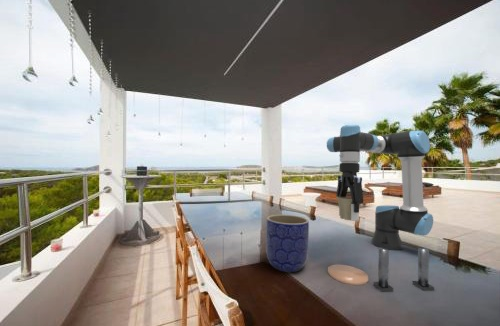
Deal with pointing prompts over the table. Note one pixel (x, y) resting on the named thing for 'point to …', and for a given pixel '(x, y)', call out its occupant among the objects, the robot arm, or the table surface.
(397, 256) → the table surface
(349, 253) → the table surface
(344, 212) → the flower pot
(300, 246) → the planter
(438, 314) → the table surface
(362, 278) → the saucer
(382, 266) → the post
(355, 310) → the table surface
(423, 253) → the post
